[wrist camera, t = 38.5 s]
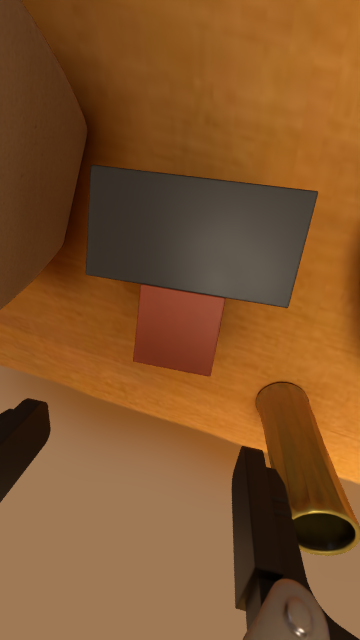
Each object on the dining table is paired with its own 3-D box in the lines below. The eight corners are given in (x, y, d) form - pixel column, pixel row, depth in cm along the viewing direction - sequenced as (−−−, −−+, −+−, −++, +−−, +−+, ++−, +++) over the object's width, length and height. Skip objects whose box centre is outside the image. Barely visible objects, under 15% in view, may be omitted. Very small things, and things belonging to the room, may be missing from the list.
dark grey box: (89, 163, 14) (81, 351, 16) (319, 190, 12) (267, 388, 15) (148, 206, 25) (137, 312, 28) (270, 222, 24) (245, 331, 27)
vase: (288, 428, 33) (331, 569, 20) (246, 408, 33) (261, 536, 20) (318, 396, 30) (389, 532, 17) (273, 373, 30) (310, 494, 17)
